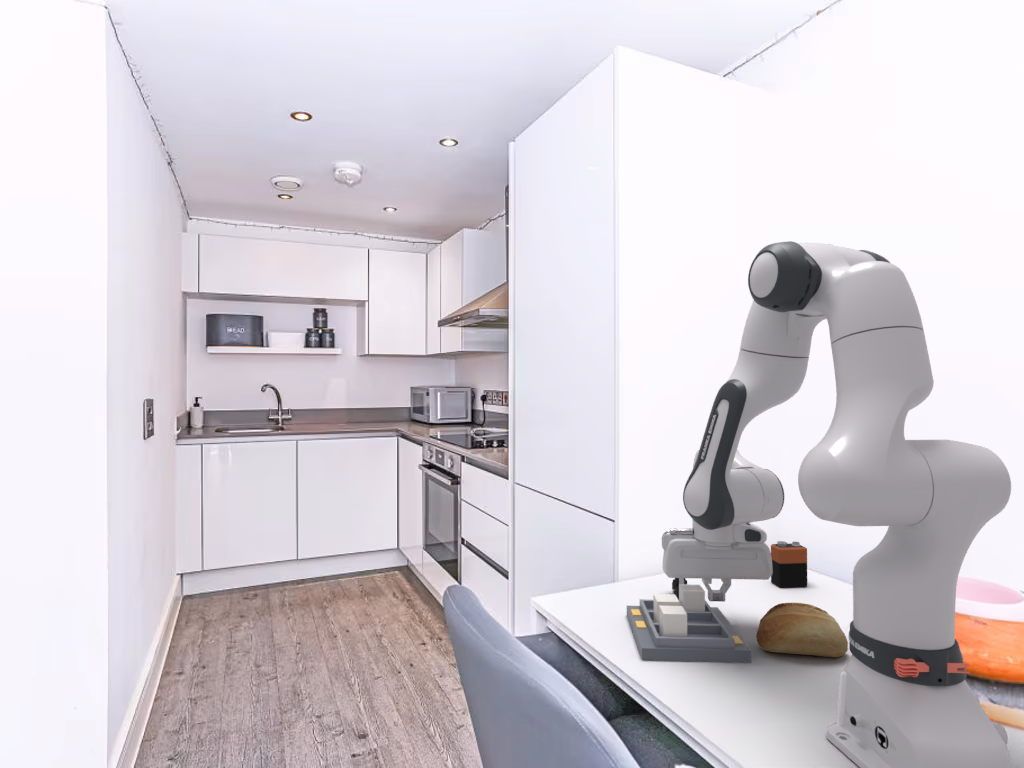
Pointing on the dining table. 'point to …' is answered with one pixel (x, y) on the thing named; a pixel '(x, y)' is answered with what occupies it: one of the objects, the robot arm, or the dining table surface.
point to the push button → (677, 585)
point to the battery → (789, 565)
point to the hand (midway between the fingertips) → (716, 600)
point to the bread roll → (801, 631)
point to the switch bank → (688, 637)
